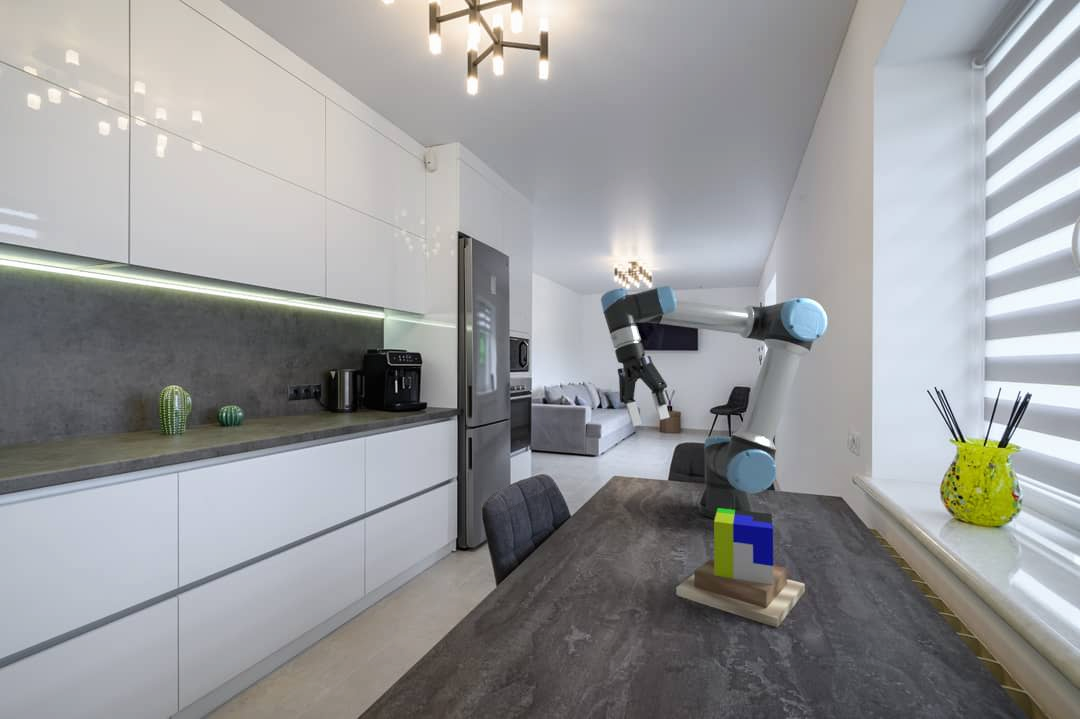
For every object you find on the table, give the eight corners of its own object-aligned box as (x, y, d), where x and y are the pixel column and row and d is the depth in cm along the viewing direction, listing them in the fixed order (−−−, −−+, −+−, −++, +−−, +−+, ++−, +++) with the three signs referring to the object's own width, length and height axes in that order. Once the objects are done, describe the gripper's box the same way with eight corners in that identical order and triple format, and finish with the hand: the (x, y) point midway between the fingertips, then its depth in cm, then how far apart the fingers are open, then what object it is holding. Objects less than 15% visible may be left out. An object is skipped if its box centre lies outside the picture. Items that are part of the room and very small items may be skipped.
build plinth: (713, 567, 108) (713, 546, 108) (804, 591, 96) (804, 568, 96) (676, 595, 95) (676, 571, 95) (777, 627, 83) (777, 600, 83)
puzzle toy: (773, 584, 89) (773, 528, 89) (714, 575, 93) (714, 521, 93) (771, 564, 98) (771, 513, 98) (718, 557, 102) (717, 508, 102)
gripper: (596, 359, 144) (616, 431, 140) (639, 334, 121) (664, 418, 118) (618, 355, 147) (638, 425, 143) (664, 329, 124) (690, 412, 120)
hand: (650, 422), depth 130 cm, fingers open, 13 cm apart
